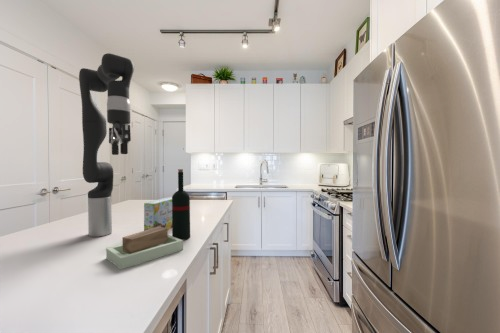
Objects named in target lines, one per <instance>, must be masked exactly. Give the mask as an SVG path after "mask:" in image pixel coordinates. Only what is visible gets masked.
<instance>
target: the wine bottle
mask: <svg viewBox="0 0 500 333" xmlns="http://www.w3.org/2000/svg"><path fill="white" fill-rule="evenodd" d="M177 170H178V171H177V180H178V181H177V185H178V186H177V191H175V192H174V193H173V194H172V196H171V197H172V228H171V231H172V232H171V234H172V235H171V236H173V237H175V238H178V239H181V240H183V241H186V240H188V239H190V238H191V199H190V198H191V197H190V195H189V193H188V192H187V191H185V190H184V169H182V168H181V169H180V168H179V169H177Z"/></svg>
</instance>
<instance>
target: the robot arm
mask: <svg viewBox="0 0 500 333" xmlns="http://www.w3.org/2000/svg"><path fill="white" fill-rule="evenodd" d="M134 71H135V65H134V63H133V61H132V60H131V59H130V58H127V57H123V56H121V55H118V54H117V55H116V54H114V53H110V52H109V53H105V54H103V55H102V57H101V64H100V65H98V68H97V70H94V69H91V68H83V67H82V68H81V69H80V70H79V73H78V82H79V89H80V90H79V91H80V98H81V100H80V101H81V120H82V121H81V125H82V126H81V127H82V136H83V137H82V138H83V139H82V140H83V153H82V154H83V157H82V177H83V180H84V181H85V182H86V183H89V184H94V183H97V184H96V186H95V187H94V188H93V189H90V190H89V191H88V192H87V218H88V219H87V220H88V221H87V223H88V224H87V225H88V226H87V227H88V229H87V230H88V237H92V238H93V237H95V238H96V237H104V236H107V235H110V234H112V233H113V225H112V224H113V223H112V222H113V220H112V218H113V216H112V215H113V214H112V212H113V211H112V209H113V208H112V207H113V206H112V192H113V190H114V168H113V166H112V164H111V163H109V162H106V161H102V162H101V161H100V162H98V152H99V148H100V147H101V145H102V144H103V143H104V141H105V140H106V137H107V132H108V143H109V144H110V145H111V154H112V155H113V156H118V155H119V154H121V155H127V154H128V153H129V152H128V151H129V150H128V149H129V148H128V146H129V142H131V141H132V136H131V125H130V124H131V102H130V85H131V81H132V78H133V75H134ZM120 77H121V79H120ZM119 79H120V80H119ZM91 92H96V93H105V92H107V101H106V117H105V115H104V114H103V112H101V110H100V109H99V107H98V106H97V104H96V103H95V100H93V98H92V94H91ZM107 123H109V124H111V125H112V127H108V131H107ZM119 144H120V145H119ZM119 146H120V152H119Z"/></svg>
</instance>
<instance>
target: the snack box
mask: <svg viewBox="0 0 500 333" xmlns="http://www.w3.org/2000/svg"><path fill="white" fill-rule="evenodd" d="M143 209H144V210H143V231H145V230H149V229H152V228H156V227H163V228H167V231H168V230H170V229H172V196H167V197H162V198H159V199H157V200H156V199H155V200H153V201H148V202H144V205H143Z"/></svg>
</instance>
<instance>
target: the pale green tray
mask: <svg viewBox="0 0 500 333" xmlns="http://www.w3.org/2000/svg"><path fill="white" fill-rule="evenodd" d="M105 250H106V251H105V252H106V254H105V255H106V256H105V257H106V260H108V261H109V262H111V263H112V264H114V265H115V266H116V267H118V268H119V269H120V270H124V269H126V268H127V269H128V268H130V267H133V266H137V265H140V264H143V263H145V262H149V261H151V260H155V259H158V258H161V257H165V256H167V255H170V254H174V253H177V252H180V251H183V250H184V240H181V239H178V238H175V237H173V236H172V235H170V234H168V241H167V242H164V243H161V244H159V245H156V246H154V247H151V248H148V249H146V250H142V251H138V252H135V253H131V254H128V253H125V252H123V243H122V244H118V245H114V246H110V247H107V248H105Z"/></svg>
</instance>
